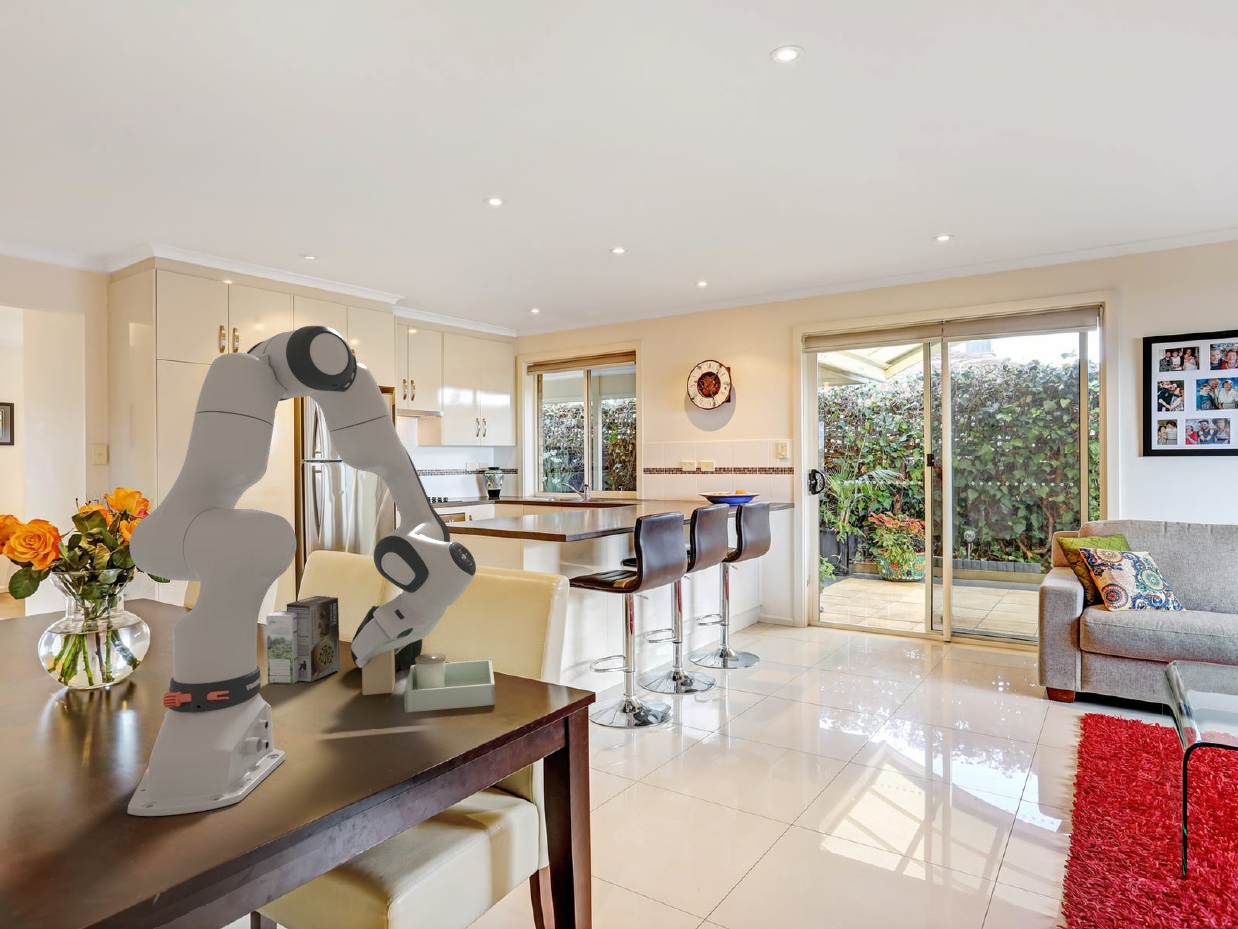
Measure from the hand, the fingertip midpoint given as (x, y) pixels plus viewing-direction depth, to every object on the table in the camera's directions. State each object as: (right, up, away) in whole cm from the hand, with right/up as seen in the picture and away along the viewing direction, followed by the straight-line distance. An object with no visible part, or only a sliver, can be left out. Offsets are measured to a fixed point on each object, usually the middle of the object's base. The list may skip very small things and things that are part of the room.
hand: (376, 658), depth 143 cm
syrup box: (-22, -7, +9) cm, 25 cm away
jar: (+11, -6, 0) cm, 12 cm away
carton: (+1, -7, 0) cm, 7 cm away
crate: (+16, -7, -4) cm, 17 cm away
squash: (-3, -7, +15) cm, 17 cm away
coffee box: (-18, -7, +12) cm, 23 cm away
